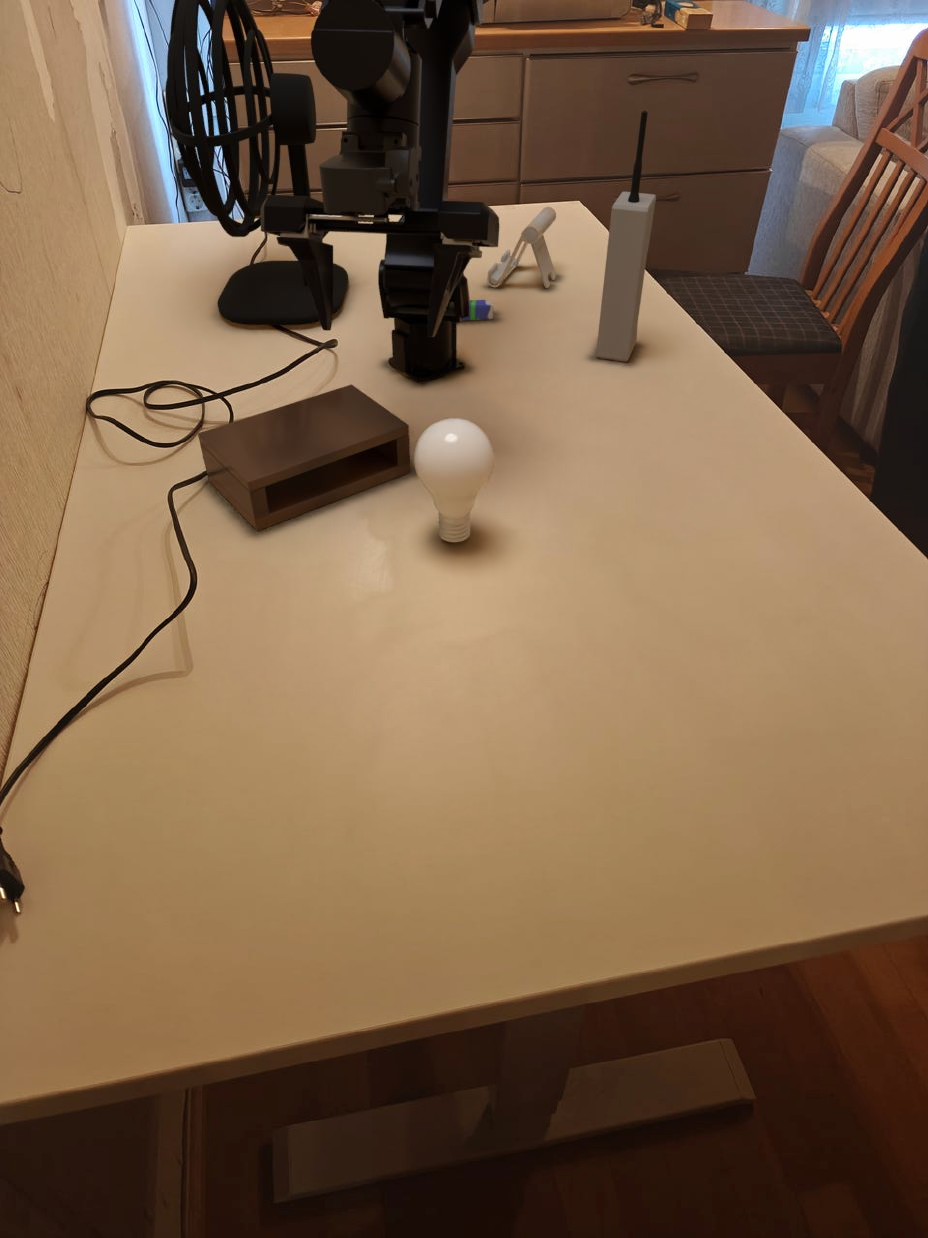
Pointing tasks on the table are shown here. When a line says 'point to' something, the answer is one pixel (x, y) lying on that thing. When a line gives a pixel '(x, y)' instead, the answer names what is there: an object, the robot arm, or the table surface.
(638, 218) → the vintage mobile phone
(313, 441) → the shelf
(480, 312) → the eraser
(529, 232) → the tablet stand
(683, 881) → the table surface
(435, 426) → the lightbulb
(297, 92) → the desk fan
